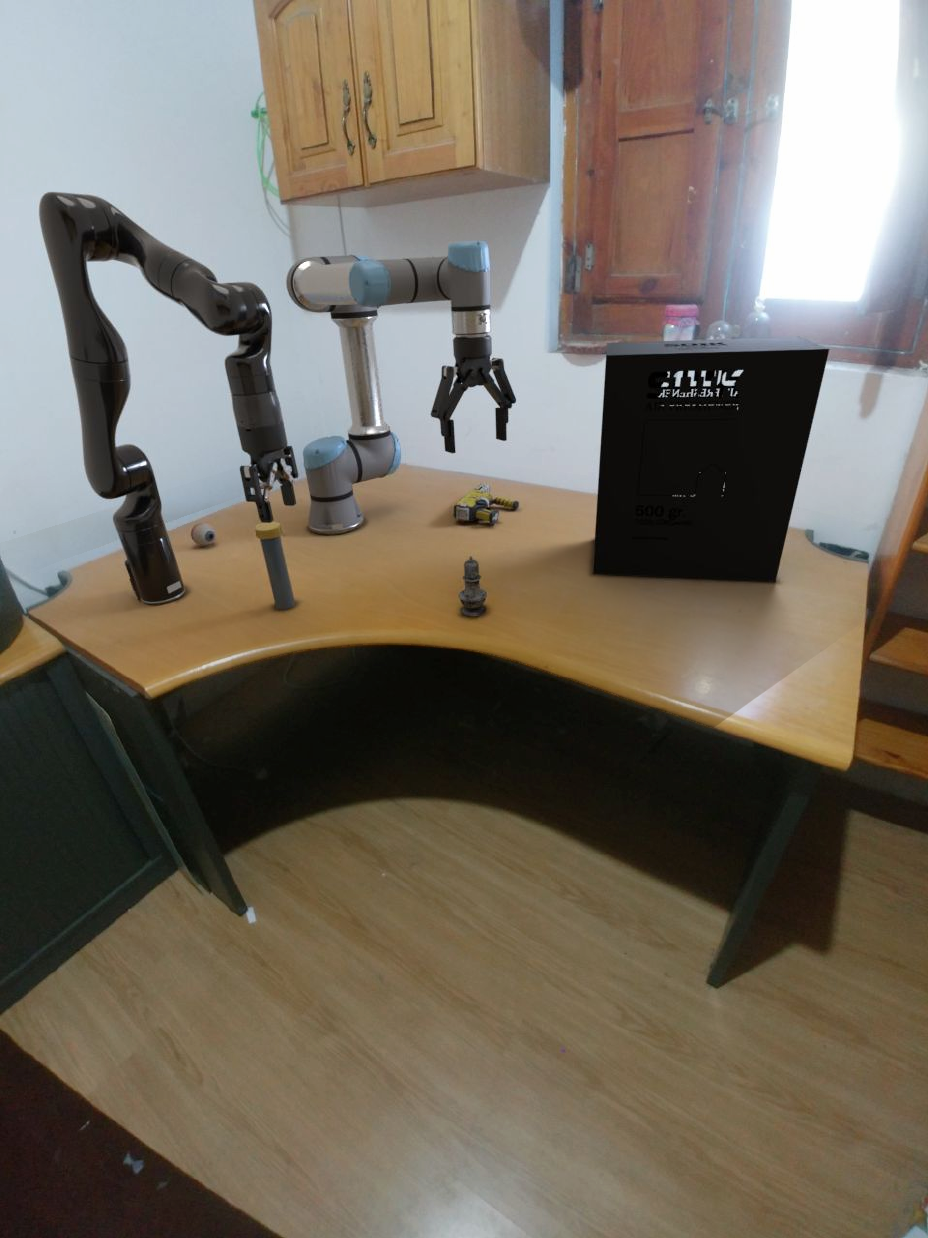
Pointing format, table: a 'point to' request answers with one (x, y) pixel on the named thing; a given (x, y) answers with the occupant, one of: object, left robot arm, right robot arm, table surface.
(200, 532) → the eyeball
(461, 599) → the grey chess piece
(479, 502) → the toy gun
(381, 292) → the right robot arm
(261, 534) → the lid
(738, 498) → the cardboard box
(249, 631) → the table surface
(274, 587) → the bottle
